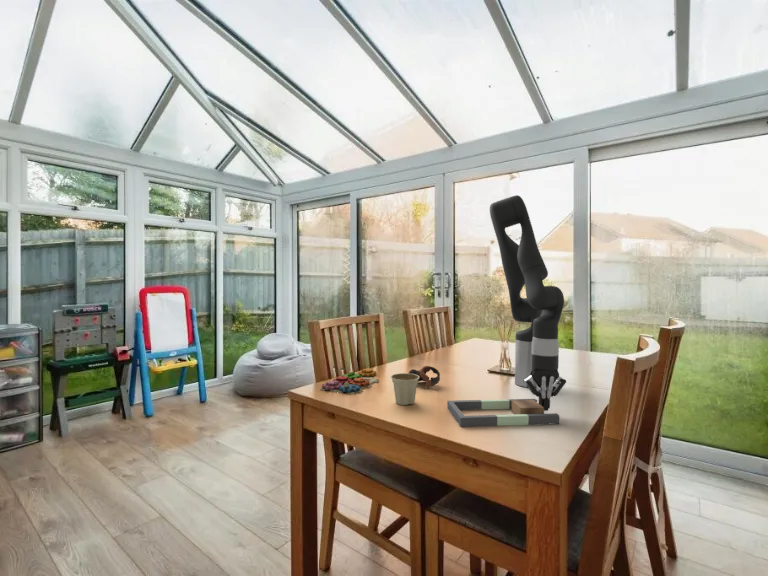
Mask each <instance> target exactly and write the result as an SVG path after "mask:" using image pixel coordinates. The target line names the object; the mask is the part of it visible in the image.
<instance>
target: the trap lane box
mask: <svg viewBox="0 0 768 576" xmlns="http://www.w3.org/2000/svg"><path fill="white" fill-rule="evenodd" d="M512 400H535V401H536V402H537V403H538V400H537V399H535V398H516V399H514V398H513V399H512V398H509V399H507V398H506V399H501V398H500V399H475V400H474V399H470V400H466V399H465V400H464V399H463V400H457V399H456V400H447V407H446V409H447V410H448V411H449V413H450V414H451V416H452V417H453V419H454V420H455V421H456V423H457V424H458V425H459V426H460V428H463V427H464V428H465V427H495V426H501V427H502V426H529V425H530V426H531V425H534V424H540V425H550V424H549V423H559V424H560V414H558V413H554V412H553V413H544V414H513V413H512V414H484V415H480V414H478V415H477V414H476V415H464V414H463V412H462V411H469V410H470V411H473V410H512V409H511V408H512ZM534 426H535V425H534Z"/></svg>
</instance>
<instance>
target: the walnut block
mask: <svg viewBox="0 0 768 576" xmlns="http://www.w3.org/2000/svg"><path fill="white" fill-rule="evenodd" d="M511 414H512V415H513V414H545V411H544V407H542V406H541V405H540V404H539V402H538V401H537V402H536V401H535V400H512V409H511Z"/></svg>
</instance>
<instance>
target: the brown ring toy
mask: <svg viewBox="0 0 768 576" xmlns="http://www.w3.org/2000/svg"><path fill="white" fill-rule="evenodd" d="M408 371H409V372H408V373H410V374H416V375H418V376H419V379H418V383H419V382H426V383H425V384H424V387H425V389H430V387H433V386H435V385H438V384H439V382H440V381H441V377H440V376H441V374H440V372H439V370H438V369H437V368H435V367H433V366H430V365H424V366H422V367H421V368H420V369H419V370H417V369H410V370H408ZM430 371H432V373H433V374H435V375H437V376H436V377H429V376H428V375H427V373H429V372H430Z"/></svg>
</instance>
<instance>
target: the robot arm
mask: <svg viewBox="0 0 768 576" xmlns="http://www.w3.org/2000/svg"><path fill="white" fill-rule="evenodd" d="M489 216H490V219H491V223H492V227H493V229H494V230H493V231H494V233H495V237H496V240H497V243H498V247H499V253H500V259H501V264H502V268H503V273H504V276H505V280H506V285H507V289H508V295H509V304H510V310H511V314H512V318H513V319H514V321H516V322H520V323H531V324H530V326H529V327H528V328H525V329H523V330H519V331H516V333H515V349H514V350H515V352H514V353H515V354H514V355H515V357H514V358H515V359H514V361H515V364H514V365H515V367H514V384H515V385H517V386H519V387H525V388H528V389H529V391H530V392H531V393H532V395H535V397H538V403H539V404H540V405H541V406H542V407H544V412H547V411H549V409H550V407H551V398H552V397H557V395H558V394H559V393H560V391H561V390H562V389H563V387H564V386H565V384H566V383H567V380H566V379H565V378H563V377H562V376H560V372H559V371H558V370H559V361H560V358H559V354H560V351H559V349H560V348H559V345H560V344H559V323H560V319H561V316H562V313H563V308H564V304H565V298H564V297H565V296H564V294H563V291H562V289H561V288H559V287H558V286H556V285H544V282H543V281H544V280H545V279H546V278H548V276H549V275H548V274H549V272H548V269H547V266H546V264H545V261H544V260H543V257H542V255H541V252H540V250H539V246H538V243H537V239H536V237H535V233H534V232H535V231H534V229H533V225H532V222H531V217H530V215H529V212H528V209H527V206H526V203H525V202H524V199H523V198H522V197H521V196H520V195H512V196H509V197H506V198H503V199H500V200H497V201H494V202H492V203H490V205H489ZM516 225H520V228H521V236H520V241H519V244H518V243H517V242H516V241H514V240H513V239H512V238H511V237H510V236H509V235H508V234H507V232H506V228H509V227H510V228H511V227H513V226H516ZM523 288H525V294H526V295H525V296H526V297H522V296H521V292H522V289H523Z"/></svg>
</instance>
